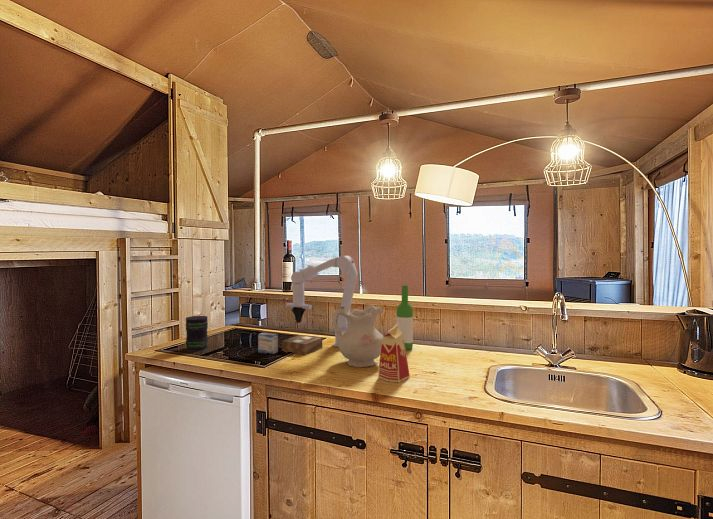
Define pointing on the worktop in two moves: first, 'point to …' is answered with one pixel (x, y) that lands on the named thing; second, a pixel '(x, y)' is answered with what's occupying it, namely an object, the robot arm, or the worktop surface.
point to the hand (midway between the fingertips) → (298, 322)
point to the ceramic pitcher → (359, 336)
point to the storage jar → (196, 333)
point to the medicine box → (267, 343)
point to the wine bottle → (405, 319)
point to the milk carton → (393, 357)
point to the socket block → (302, 345)
